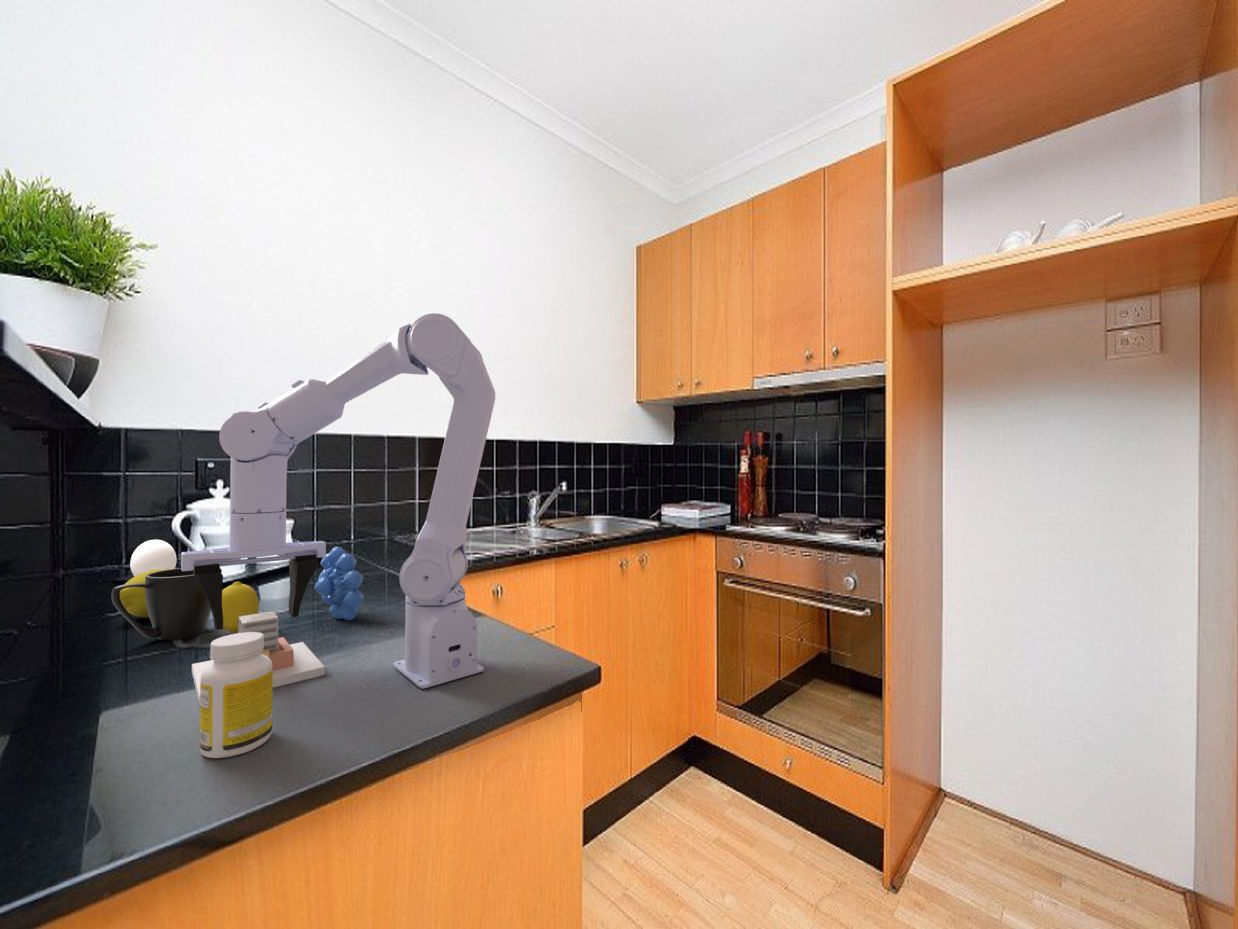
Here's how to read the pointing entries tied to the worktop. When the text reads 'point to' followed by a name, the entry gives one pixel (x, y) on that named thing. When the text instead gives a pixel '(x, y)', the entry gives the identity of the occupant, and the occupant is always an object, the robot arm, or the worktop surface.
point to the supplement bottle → (236, 696)
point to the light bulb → (153, 557)
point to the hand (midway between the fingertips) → (257, 621)
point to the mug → (170, 605)
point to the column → (262, 628)
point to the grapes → (340, 584)
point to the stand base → (279, 665)
